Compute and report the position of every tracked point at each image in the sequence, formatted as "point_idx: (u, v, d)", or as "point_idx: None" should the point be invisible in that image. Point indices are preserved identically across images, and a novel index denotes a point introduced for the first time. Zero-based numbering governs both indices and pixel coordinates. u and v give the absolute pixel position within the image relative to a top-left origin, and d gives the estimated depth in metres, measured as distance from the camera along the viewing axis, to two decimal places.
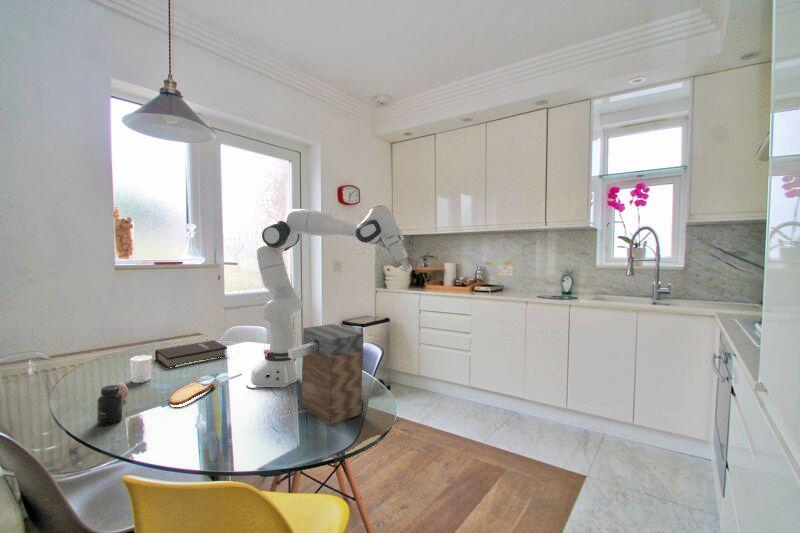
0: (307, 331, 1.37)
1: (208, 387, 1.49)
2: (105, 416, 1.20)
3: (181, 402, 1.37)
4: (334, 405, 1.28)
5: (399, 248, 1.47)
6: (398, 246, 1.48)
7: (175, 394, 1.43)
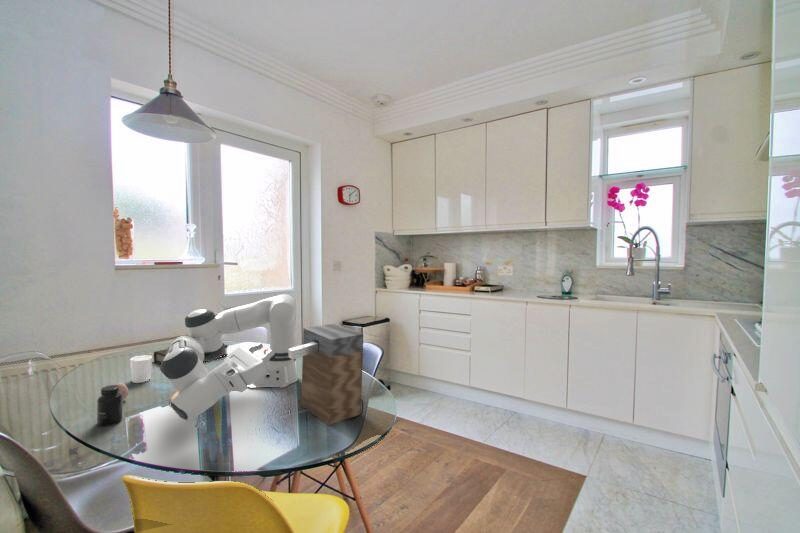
0: (307, 331, 1.37)
1: None
2: (105, 416, 1.20)
3: None
4: (334, 405, 1.28)
5: (251, 370, 1.07)
6: (248, 372, 1.07)
7: (175, 394, 1.43)
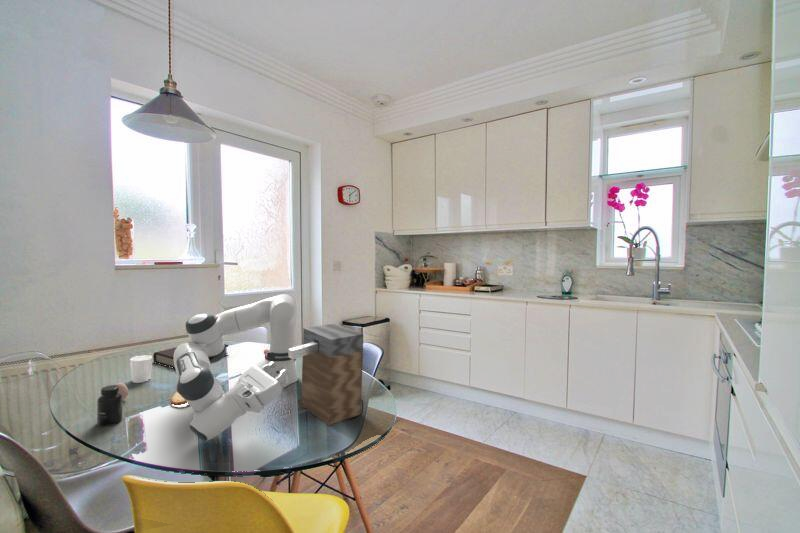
0: (307, 331, 1.37)
1: None
2: (105, 416, 1.20)
3: (184, 402, 1.37)
4: (334, 405, 1.28)
5: (267, 391, 1.11)
6: (264, 393, 1.10)
7: (176, 394, 1.43)
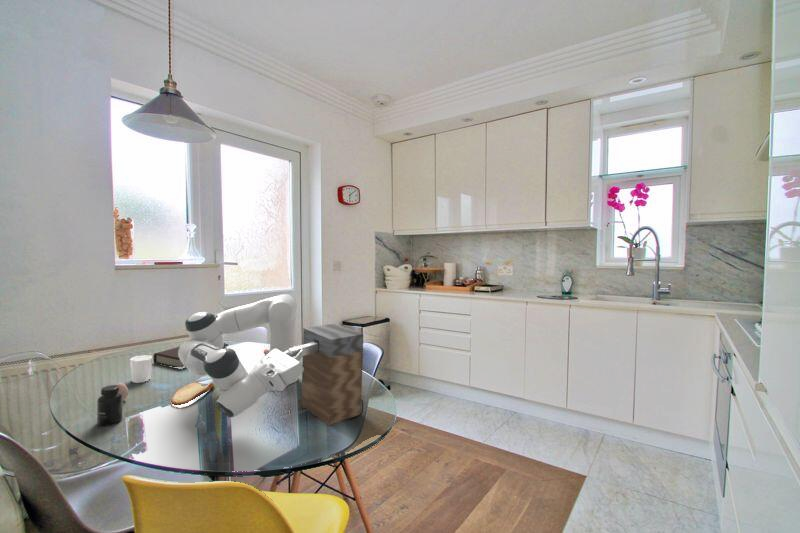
0: (307, 331, 1.37)
1: (209, 387, 1.50)
2: (105, 416, 1.20)
3: (185, 402, 1.37)
4: (334, 405, 1.28)
5: (289, 371, 1.16)
6: (287, 373, 1.15)
7: (176, 395, 1.43)
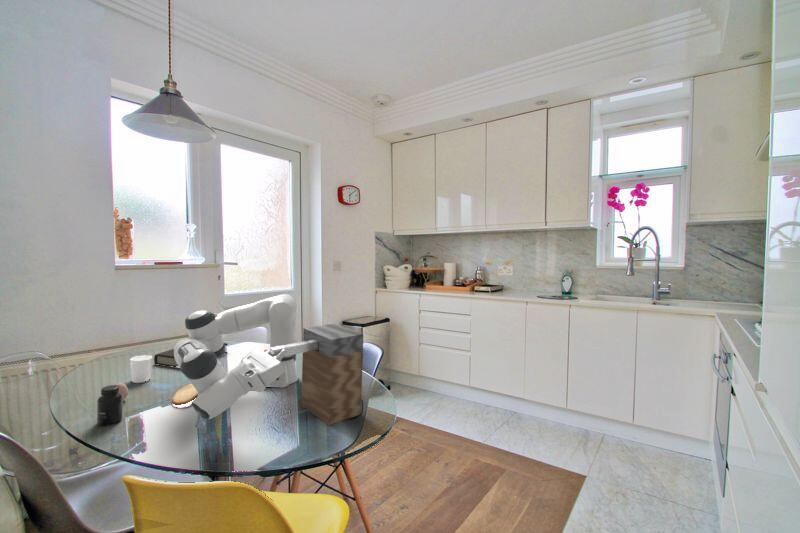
0: (307, 331, 1.37)
1: None
2: (105, 416, 1.20)
3: (186, 402, 1.37)
4: (334, 405, 1.28)
5: (269, 371, 1.11)
6: (266, 373, 1.11)
7: (176, 395, 1.42)
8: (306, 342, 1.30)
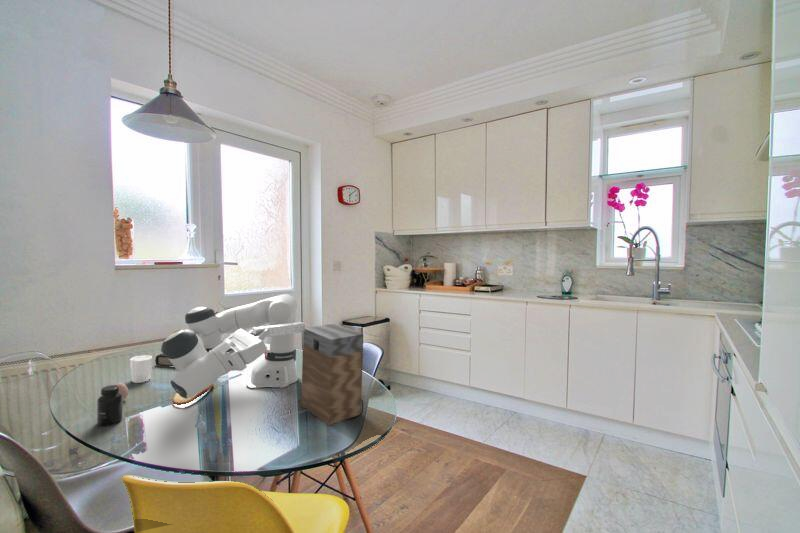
0: (307, 331, 1.37)
1: (209, 386, 1.50)
2: (105, 416, 1.20)
3: (187, 402, 1.37)
4: (334, 405, 1.28)
5: (250, 349, 1.09)
6: (247, 351, 1.08)
7: (177, 395, 1.42)
8: (290, 324, 1.27)
